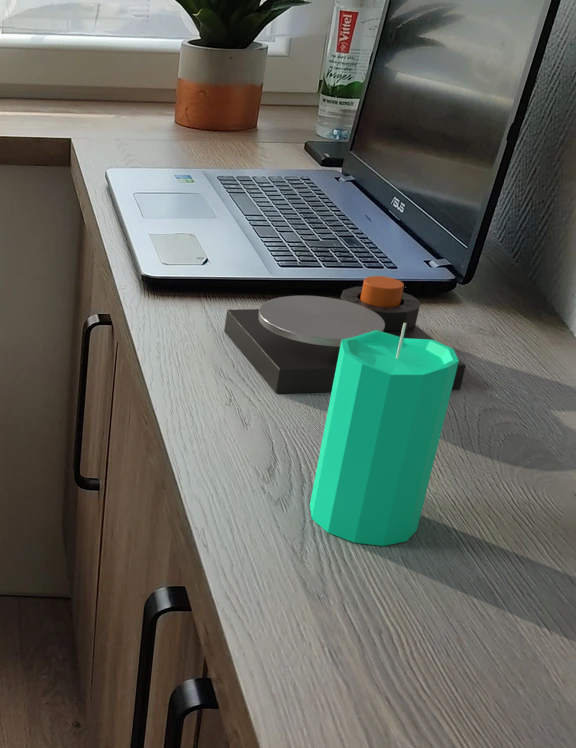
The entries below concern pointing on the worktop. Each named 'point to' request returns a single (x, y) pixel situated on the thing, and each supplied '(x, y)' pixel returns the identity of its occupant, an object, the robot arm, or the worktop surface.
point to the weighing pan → (318, 319)
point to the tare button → (382, 291)
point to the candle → (381, 436)
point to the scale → (313, 346)
